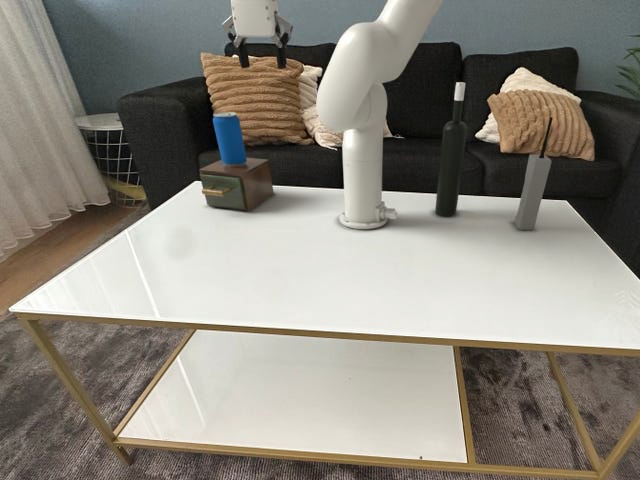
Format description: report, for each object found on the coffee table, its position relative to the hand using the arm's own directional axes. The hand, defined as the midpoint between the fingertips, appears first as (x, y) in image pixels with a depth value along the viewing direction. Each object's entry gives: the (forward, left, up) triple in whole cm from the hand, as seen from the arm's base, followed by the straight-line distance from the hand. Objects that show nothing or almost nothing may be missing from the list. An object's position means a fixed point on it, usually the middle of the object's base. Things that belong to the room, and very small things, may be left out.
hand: (263, 68), depth 99 cm
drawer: (+10, +9, -30) cm, 33 cm away
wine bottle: (-48, -3, -31) cm, 57 cm away
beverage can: (+10, +5, -22) cm, 24 cm away
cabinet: (+10, +5, -31) cm, 33 cm away
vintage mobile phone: (-69, 0, -31) cm, 76 cm away
